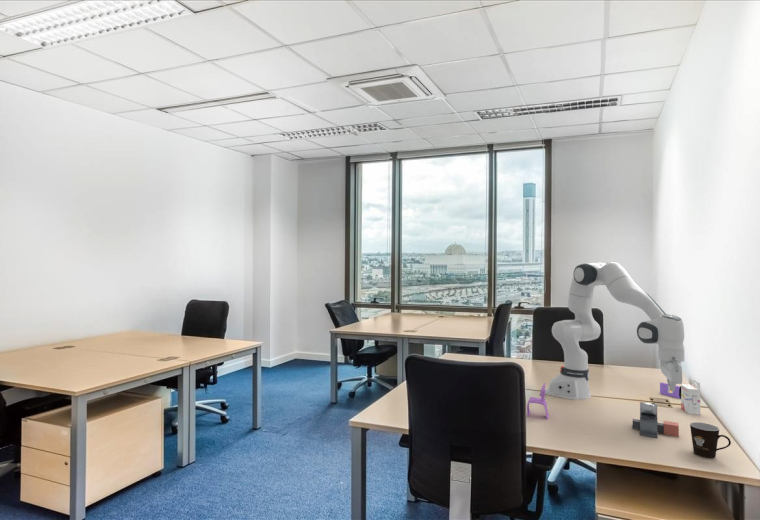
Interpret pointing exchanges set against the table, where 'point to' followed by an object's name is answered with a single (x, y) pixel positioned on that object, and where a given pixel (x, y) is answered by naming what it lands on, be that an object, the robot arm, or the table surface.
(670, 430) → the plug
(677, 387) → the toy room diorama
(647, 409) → the housing
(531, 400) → the toy chair
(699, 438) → the coffee mug
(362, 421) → the table surface
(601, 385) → the table surface
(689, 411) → the ink cartridge box
